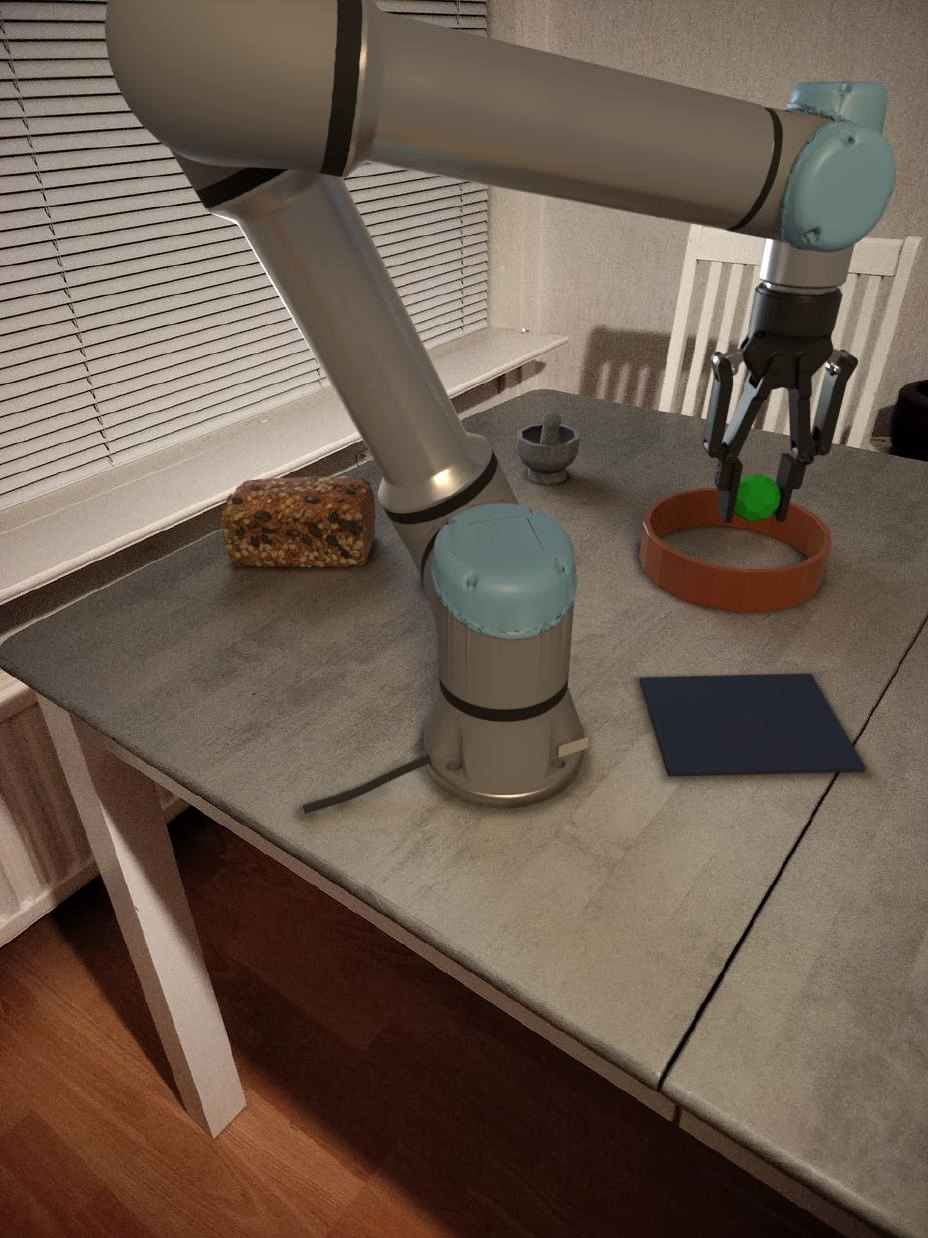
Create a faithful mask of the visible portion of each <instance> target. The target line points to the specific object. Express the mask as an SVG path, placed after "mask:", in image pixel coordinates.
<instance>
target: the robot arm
mask: <svg viewBox="0 0 928 1238" xmlns="http://www.w3.org/2000/svg"><path fill="white" fill-rule="evenodd" d="M105 11H106V12H105V21H104V37H105V46H106V52H107V57H108V62H109V65H110V69H111V71H112V75H113V77H114V80H115V81H114V82H115V83H116V86H117V88H118V90H119V92H120V94H121V96H122V98H123V99H124V101H125V104H126V105H127V107H128V108H129V110H130V111H131V112H132V114H133V115H134V116H135V118H136V120H137V121H138V122H139V123H140V125H142V127H143V128H144V129H146V130H147V131H148V133H150V134H151V135H152V136H153V137H154V138H155V139H156V140H157V141H158V142H159V143H160V144H162V145H163V146H164V147H166V148H167V149H169V150H170V152H171V154H172V155H173V158H174V159H175V161H176V162H177V164H178V166H179V168H180V169H181V171H182V172H183V174H184V176H185V178H186V179H187V181H188V182H189V184H190V185H191V187H192V189H193V190H194V192H195V194H196V196H197V197H198V199H199V201H200V202H201V204H202V206H203V208H204V209H205V211H206V212H207V213H208V214H211V215H214V216H217V217H220V218H223V219H226V220H228V221H230V222H231V221H232V223H234V224H236V225H237V226H238V227H239V228H240V230H241V232H242V234H243V236H244V237H245V239H246V241H247V242H248V244H249V246H250V248H251V250H252V251H253V253H254V255H255V256H256V258H257V260H258V261H259V263H260V265H261V267H262V268H263V270H264V272H265V274H266V276H267V277H268V279H269V280H270V282H271V284H272V286H273V288H274V290H275V291H276V292H277V294H278V296H279V298H280V300H281V302H282V303H283V305H284V307H285V308H286V310H287V311H288V313H289V315H290V317H291V318H292V320H293V322H294V324H295V326H296V327H297V329H298V331H299V332H300V335H301V336H302V338H303V339H304V341H305V343H306V345H307V346H308V348H309V350H310V351H311V353H312V355H313V357H314V358H315V360H316V362H317V364H318V365H319V367H320V369H321V370H322V373H323V374H324V376H325V378H326V379H327V381H328V383H329V384H330V386H331V388H332V389H333V391H334V393H335V395H336V397H337V398H338V400H339V402H340V403H341V405H342V407H343V409H344V410H345V412H346V414H347V416H348V417H349V419H350V421H351V423H352V425H353V426H354V428H355V429H356V431H357V433H358V434H359V436H360V438H361V440H362V441H363V444H364V445H365V447H366V449H367V451H368V452H369V454H370V455H371V457H372V459H373V460H374V463H375V464H376V466H377V467H378V469H379V471H380V473H381V474H382V479H381V482H380V484H379V487H378V491H377V498H378V502H379V504H380V505H381V507H382V508H383V510H384V512H385V513H386V516H387V517H388V519H389V520H390V522H391V524H392V526H393V527H394V529H395V531H396V532H397V534H398V536H399V537H400V539H401V540H402V543H403V544H404V546H405V548H406V550H407V551H408V554H409V555H410V557H411V560H412V561H413V563H414V565H415V568H416V571H417V573H418V576H419V578H420V581H421V584H422V587H423V590H424V592H425V595H426V598H427V600H428V603H429V606H430V609H431V612H432V614H433V619H434V625H435V630H436V645H437V663H438V678H439V679H438V682H439V686H438V689H437V691H436V694H435V697H434V699H433V702H432V705H431V707H430V711H429V714H428V716H427V719H426V722H425V725H424V729H423V733H422V748H423V756H421V757H419V758H417V759H414V760H412V761H410V762H408V763H405V764H404V765H402V766H399V767H397V768H395V769H392V770H391V771H388V772H386V773H384V774H381V775H380V776H378V777H376V778H374V779H372V780H371V781H368V782H366V783H364V784H362V785H359V786H357V787H354V788H352V789H349V790H348V791H344V792H342V793H338V794H336V795H332V796H330V797H329V796H328V797H326V798H322V799H319V800H314V801H312V802H309V803H305V804H302V809H303V812H304V814H308V813H312V812H315V811H318V810H321V809H322V810H323V809H326V808H328V807H331V806H335V805H339V804H341V803H344V802H347V801H351V800H352V799H355V798H358V797H360V796H362V795H365V794H367V793H369V792H371V791H373V790H375V789H377V788H379V787H381V786H382V785H384V784H386V783H389V782H391V781H393V780H395V779H397V778H400V777H403V776H404V775H406V774H408V773H410V772H412V771H414V770H417V769H418V768H422V767H424V766H425V767H426V769H427V771H428V773H429V774H430V776H431V777H432V779H433V780H434V782H436V783H437V784H438V785H439V786H440V787H441V788H442V789H443V790H445V791H446V792H447V793H449V794H451V795H452V796H454V797H455V798H457V799H459V800H462V801H464V802H467V803H470V804H473V805H477V806H481V807H487V808H494V809H517V808H524V807H529V806H532V805H536V804H540V803H543V802H544V801H545V802H546V801H547V800H549V799H551V798H553V797H555V796H557V795H559V794H560V793H562V792H563V791H564V790H566V789H567V788H568V787H569V786H570V785H571V784H572V783H573V781H574V780H575V779H576V778H577V776H578V774H579V772H580V771H581V768H582V765H583V762H584V761H583V760H584V752H585V750H586V749H588V748H589V740H590V739H589V738H590V736H586V737H585V735H584V730H583V727H582V723H581V720H580V717H579V714H578V712H577V708H576V706H575V703H574V700H573V698H572V695H571V692H570V689H569V678H570V677H569V676H570V664H571V649H572V637H573V636H572V635H573V623H574V609H575V608H574V607H575V597H576V594H577V585H578V576H577V567H576V556H575V549H574V545H573V543H572V540H571V538H570V536H569V535H568V533H567V531H566V530H565V529H564V528H563V527H562V526H561V525H560V523H559V522H557V521H556V520H555V519H553V518H552V517H550V516H549V515H547V514H546V513H544V512H542V511H539V512H536V513H535V512H533V508H531V507H528V506H526V505H522V504H520V503H519V501H518V500H517V498H516V496H515V494H514V492H513V489H512V488H511V485H510V483H509V481H508V479H507V477H506V475H505V472H504V470H503V468H502V465H501V464H500V462H499V460H498V457H497V456H496V454H495V451H494V450H493V448H492V445H491V443H490V442H489V440H488V439H487V438H486V437H485V436H483V435H481V434H477V433H473V432H469V431H466V429H465V427H464V425H463V423H462V420H461V419H460V417H459V415H458V412H457V411H456V408H455V406H454V404H453V402H452V400H451V398H450V396H449V393H448V392H447V390H446V388H445V386H444V384H443V381H442V380H441V378H440V376H439V373H438V371H437V369H436V367H435V365H434V363H433V361H432V359H431V357H430V355H429V353H428V350H427V349H426V346H425V345H424V342H423V341H422V339H421V337H420V334H419V332H418V330H417V328H416V326H415V324H414V322H413V320H412V318H411V315H410V313H409V312H408V309H407V307H406V305H405V304H404V301H403V299H402V297H401V295H400V293H399V291H398V288H397V287H396V285H395V283H394V281H393V279H392V276H391V275H390V273H389V270H388V269H387V266H386V264H385V263H384V260H383V258H382V256H381V254H380V252H379V250H378V248H377V245H376V244H375V241H374V239H373V237H372V235H371V233H370V232H369V229H368V227H367V225H366V223H365V220H364V219H363V217H362V215H361V212H360V210H359V209H358V206H357V204H356V202H355V201H354V198H353V196H352V194H351V192H350V190H349V188H348V185H347V184H346V182H345V180H344V179H347V178H348V177H349V176H351V174H353V173H354V172H355V171H357V170H358V169H359V168H360V167H361V166H363V165H366V164H372V165H377V166H382V167H386V168H387V167H388V168H393V169H399V170H404V171H408V172H415V173H419V174H424V175H425V174H426V175H431V176H435V177H442V178H446V179H447V178H448V179H452V180H457V181H463V182H468V183H473V184H479V185H483V186H488V187H494V188H500V189H505V190H511V191H515V192H516V191H517V192H521V193H525V194H526V193H527V194H530V195H531V194H532V195H535V196H536V195H537V196H542V197H547V198H553V199H557V200H564V201H569V202H574V203H581V204H585V205H590V206H594V207H595V206H596V207H600V208H606V209H612V210H617V211H622V212H626V213H632V214H638V215H643V216H647V217H653V218H658V219H665V220H670V221H676V222H680V223H681V222H682V223H686V224H692V225H696V226H700V227H701V226H702V227H708V228H713V229H718V230H722V231H727V232H730V233H734V234H738V235H739V234H740V235H745V236H750V237H755V238H761V239H764V241H763V246H762V251H761V256H760V262H759V268H758V273H757V276H758V279H760V280H761V281H762V282H760V283H759V284H758V285H757V286H756V287H755V289H754V293H753V299H752V304H751V310H750V315H749V321H748V328H747V329H748V330H747V334H746V335H745V337H744V339H743V340H742V342H741V343H740V346H739V348H736V349H734V350H731V351H728V352H725V353H722V352H721V351H715V352H713V353H712V355H711V356H710V363H711V370H712V374H713V378H712V383H711V390H710V396H709V399H708V400H709V401H708V406H707V411H706V418H705V423H704V429H703V433H702V434H703V435H702V441H701V447H702V448H703V450H704V451H705V452H706V454H707V455H708V456H709V457H710V458H711V459H717V463H716V468H715V475H714V480H713V482H714V485H715V488H718V490H719V491H721V493H720V498H719V504H718V509H717V512H718V514H719V515H720V517H721V518H722V520H723V521H724V523H732V519H733V514H734V509H735V504H736V499H737V494H738V489H739V484H740V479H741V478H742V473H743V468H744V464H743V463H742V462H741V460H740V458H739V456H740V454H741V451H742V449H743V447H744V445H745V443H746V441H747V438H748V436H749V434H750V431H751V430H752V427H753V425H754V423H755V421H756V418H757V416H758V415H759V412H760V410H761V407H762V405H763V403H764V402H765V401H766V400H767V399H768V398H769V396H770V395H771V392H772V390H778V389H782V388H783V389H786V390H787V394H788V395H787V396H788V419H789V421H788V422H789V445H790V446H789V447H790V452H791V453H790V452H783V453H781V456H780V460H779V464H778V469H777V473H776V478H775V483H776V485H777V487H778V489H779V492H780V496H781V497H780V502H779V506H778V508H777V509H776V510H775V511H774V512H773V513H772V515H773V516H774V517H775V519H776V520H777V521H778V522H785V520H786V516H787V511H788V507H789V503H790V501H791V499H792V494H793V490H800V488H801V487H802V485H803V481H804V478H805V474H806V470H807V466H810V465H811V464H813V462H814V461H815V457H817V456H821V457H824V456H825V457H826V456H827V455H828V454H829V453H830V452H831V450H832V445H833V442H834V437H835V433H836V429H837V425H838V420H839V417H840V413H841V408H842V405H843V401H844V397H845V392H846V389H847V385H848V381H849V380H850V378H851V377H852V375H853V373H854V372H855V370H856V368H857V367H858V365H859V359H858V357H856V356H854V355H853V354H852V353H850V352H849V351H847V350H846V349H840V350H839V349H836V348H834V343H833V339H832V336H833V333H834V330H835V328H836V325H837V324H836V323H837V320H838V317H839V316H838V315H839V312H840V307H841V304H842V299H843V292H842V290H841V289H840V288H839V287H841V286H843V285H844V284H845V283H847V278H848V274H849V270H850V267H851V263H852V262H851V261H852V257H853V253H854V249H855V245H856V244H857V243H859V242H860V241H862V240H863V239H864V238H865V237H867V236H868V235H869V234H870V233H871V232H872V230H874V229H875V227H876V226H877V225H878V224H879V222H880V221H881V219H882V217H883V216H884V214H885V212H886V211H887V209H888V205H889V204H890V202H891V198H892V195H893V193H894V190H895V186H896V181H897V161H896V156H895V152H894V150H893V147H892V146H891V144H890V142H889V140H888V139H887V138H886V136H885V135H884V134H883V130H884V125H885V119H886V115H887V113H886V112H887V106H888V96H889V95H888V89H887V88H886V87H885V86H884V85H883V83H880V82H879V81H864V80H863V81H862V80H861V81H860V80H856V81H855V80H831V81H830V80H829V81H828V80H821V81H820V80H819V81H818V80H817V81H800V82H799V83H797V84H796V85H795V86H794V87H793V89H792V91H791V94H790V97H789V100H788V102H787V104H786V108H785V109H780V108H774V107H767V106H763V105H762V104H760V103H756V102H752V101H749V100H744V99H739V98H736V97H731V96H728V95H724V94H719V93H715V92H712V91H708V90H703V89H699V88H695V87H691V86H687V85H683V84H679V83H675V82H670V81H666V80H662V79H658V78H654V77H651V76H646V75H642V74H638V73H633V72H629V71H626V70H622V69H619V68H615V67H610V66H606V65H602V64H598V63H594V62H589V61H585V60H581V59H577V58H574V57H569V56H565V55H561V54H557V53H552V52H549V51H545V50H540V49H536V48H532V47H529V46H525V45H521V44H516V43H512V42H508V41H505V40H499V39H496V38H492V37H488V36H484V35H480V34H476V33H471V32H469V31H468V32H467V31H463V30H459V29H456V28H452V27H447V26H443V25H440V24H439V25H438V24H434V23H431V22H428V21H427V22H426V21H423V20H418V19H414V18H410V17H406V16H403V15H398V14H395V13H390V12H387V11H383V10H382V9H381V8H379V6H378V5H377V3H376V1H375V0H107V3H106V10H105ZM742 363H743V364H744V365H745V367H746V368H747V369H746V370H747V371H748V375H747V377H746V380H745V382H744V385H743V392H742V393H741V396H740V399H739V401H738V403H737V405H736V407H735V410H734V412H733V414H732V416H731V418H730V421H729V423H728V425H727V421H728V415H729V411H730V406H731V405H730V404H731V399H732V395H733V390H734V376H737V375H738V373H739V369H740V365H741V364H742ZM823 366H824V369H825V370H826V371H825V373H824V376H823V380H822V384H821V389H820V393H819V397H818V401H817V404H816V405H817V406H816V410H815V415H814V418H813V422H812V423H811V420H812V419H811V418H812V417H811V397H812V396H813V381H812V379H813V376H814V375H815V374H816V373H817V372H818V371H819V370H820V369H821V368H822V367H823ZM726 425H727V428H726Z"/></svg>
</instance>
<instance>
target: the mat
mask: <svg viewBox="0 0 928 1238" xmlns="http://www.w3.org/2000/svg"><path fill="white" fill-rule="evenodd" d="M639 683H640V686H641V690H642V693H643V696H644V700H645V703H646V706H647V709H648V713H649V716H650V720H651V723H652V726H653V730H654V733H655V737H656V740H657V743H658V746H659V750H660V753H661V756H662V759H663V762H664V767H665V770H666V772H667V776H668V777H699V776H700V777H703V776H704V777H705V776H707V777H708V776H745V775H746V776H747V775H749V776H750V775H751V776H753V775H784V774H785V775H791V774H796V775H797V774H836V773H839V774H840V773H841V774H842V773H865V771H866V768H867V767H866V765H865V764H864V762H863V760H862V758H861V757H860V755H859V753H858V752H857V750H856V748H855V746H854V744H853V743H852V742H851V739H850V738H849V736H848V735H847V733H846V731H845V729H844V728H843V726H842V723H840V721H839V719H838V717H837V715H836V714H835V712H834V710H833V708H832V707H831V705H830V704H829V702H828V700H827V698H826V697H825V695H824V693H823V692H822V691H823V690H822V689H821V688H820V686H819V684H818V683H817V681H816V680H815V678H814V676H813V674H812V673H811V672H810V673H773V674H771V673H769V674H730V675H690V676H686V675H685V676H649V677H648V676H647V677H643V676H641V677H640V679H639Z"/></svg>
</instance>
